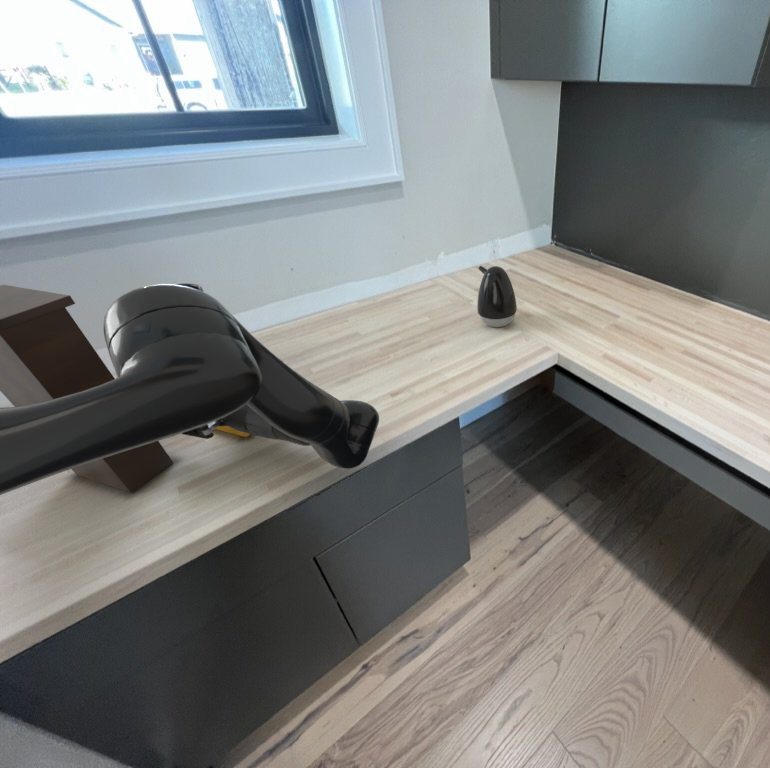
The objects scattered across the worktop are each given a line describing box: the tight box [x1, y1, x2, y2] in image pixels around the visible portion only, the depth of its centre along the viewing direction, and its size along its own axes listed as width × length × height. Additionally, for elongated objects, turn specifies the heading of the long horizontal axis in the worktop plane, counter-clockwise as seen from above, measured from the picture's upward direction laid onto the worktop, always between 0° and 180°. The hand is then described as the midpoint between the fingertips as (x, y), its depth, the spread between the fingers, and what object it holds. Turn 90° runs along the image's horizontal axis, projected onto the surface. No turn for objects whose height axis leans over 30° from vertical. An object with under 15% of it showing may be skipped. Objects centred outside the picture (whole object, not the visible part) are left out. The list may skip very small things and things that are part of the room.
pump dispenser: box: [476, 265, 518, 328], centre depth 106 cm, size 10×10×15 cm
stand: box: [0, 284, 174, 494], centre depth 61 cm, size 14×9×30 cm, turn 72°
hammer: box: [215, 426, 251, 438], centre depth 79 cm, size 23×4×2 cm, turn 71°
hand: (195, 397), depth 74 cm, fingers open, 8 cm apart
